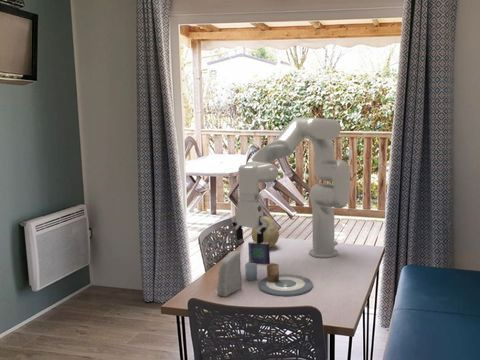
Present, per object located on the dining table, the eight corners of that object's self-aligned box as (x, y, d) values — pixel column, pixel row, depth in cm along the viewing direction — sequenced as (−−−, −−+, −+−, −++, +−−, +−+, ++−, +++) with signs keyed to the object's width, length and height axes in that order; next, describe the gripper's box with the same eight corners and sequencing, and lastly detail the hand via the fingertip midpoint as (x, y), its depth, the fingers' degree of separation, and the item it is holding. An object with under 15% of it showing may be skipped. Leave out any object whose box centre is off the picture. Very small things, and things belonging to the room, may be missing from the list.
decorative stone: (228, 298, 186) (226, 257, 184) (214, 295, 189) (212, 255, 187) (244, 288, 195) (242, 249, 193) (230, 285, 198) (229, 247, 196)
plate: (277, 273, 210) (277, 270, 210) (322, 283, 198) (322, 280, 198) (247, 289, 194) (247, 286, 194) (294, 300, 182) (294, 297, 182)
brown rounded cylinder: (281, 279, 200) (280, 264, 199) (274, 283, 196) (274, 267, 195) (271, 277, 202) (271, 262, 202) (265, 281, 199) (264, 265, 198)
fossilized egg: (282, 245, 248) (282, 214, 246) (274, 253, 237) (274, 220, 234) (257, 243, 253) (256, 212, 250) (248, 250, 241) (247, 219, 239)
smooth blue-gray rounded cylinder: (250, 276, 207) (249, 262, 206) (259, 278, 205) (258, 263, 204) (243, 279, 204) (243, 265, 203) (252, 282, 201) (252, 267, 200)
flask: (248, 263, 224) (247, 238, 222) (250, 260, 227) (249, 236, 225) (269, 264, 221) (268, 240, 219) (270, 262, 224) (270, 238, 222)
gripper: (273, 198, 197) (274, 242, 199) (237, 193, 207) (238, 235, 210) (262, 201, 191) (262, 247, 194) (225, 196, 201) (226, 240, 204)
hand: (249, 241), depth 202 cm, fingers open, 9 cm apart
